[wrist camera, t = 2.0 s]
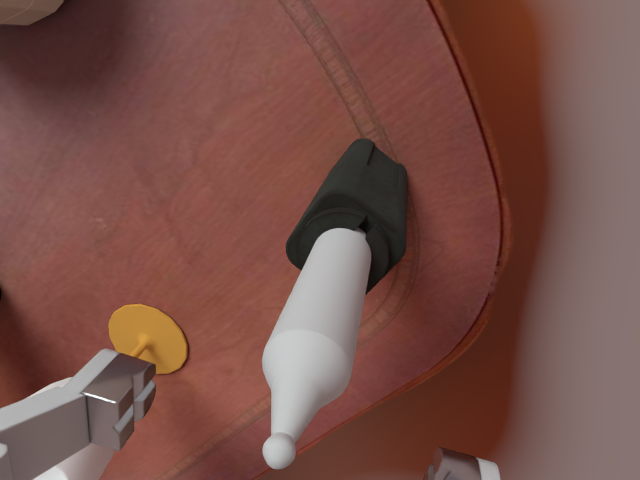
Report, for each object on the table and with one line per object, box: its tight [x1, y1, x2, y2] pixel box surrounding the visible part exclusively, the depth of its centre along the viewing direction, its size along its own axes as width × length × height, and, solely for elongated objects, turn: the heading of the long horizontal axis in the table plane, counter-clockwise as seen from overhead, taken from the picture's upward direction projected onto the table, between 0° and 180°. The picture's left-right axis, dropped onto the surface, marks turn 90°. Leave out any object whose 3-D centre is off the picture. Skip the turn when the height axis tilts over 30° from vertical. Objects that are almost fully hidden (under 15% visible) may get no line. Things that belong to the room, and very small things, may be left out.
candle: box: [262, 139, 407, 469], centre depth 21 cm, size 5×5×25 cm
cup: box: [27, 304, 188, 480], centre depth 37 cm, size 9×9×16 cm
